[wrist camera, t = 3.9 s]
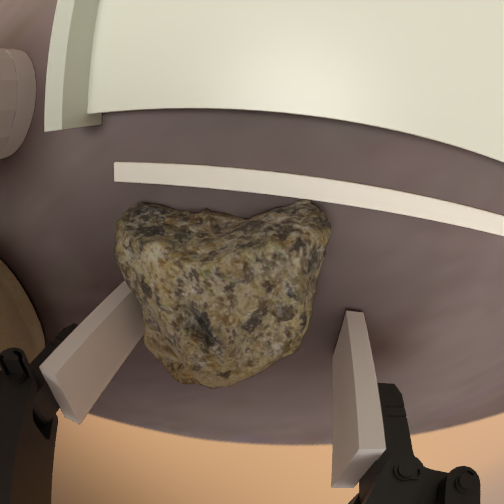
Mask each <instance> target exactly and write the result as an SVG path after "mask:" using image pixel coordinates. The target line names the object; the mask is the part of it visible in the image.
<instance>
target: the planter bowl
mask: <svg viewBox="0 0 504 504" xmlns="http://www.w3.org/2000/svg"><path fill="white" fill-rule="evenodd" d="M13 347H16V348H20V349H22V350H23V351H24V353H25V355H26V357H27V359H28V362H29V364H30V363H31V362H32V361H33V360H34V359H35V358H36V357H37V356H38V354H39V353H40V352H41V351H42V350H43V349H44V348H45V340H44V334H43V331H42V327H41V324H40V321H39V319H38V317H37V314H36V312H35V310H34V308H33V306H32V304H31V302H30V300H29V298H28V296H27V295H26V293H25V291H24V290H23V288H22V286H21V285H20V283H19V282H18V280H17V279H16V277H15V276H14V275H13V273H12V272H11V271H10V270H9V268H8V267H7V266H6V265H5V264H4V263H3V262H2V261H1V260H0V353H1V352H2V351H3V350H5V349H8V348H13ZM0 370H1V368H0Z"/></svg>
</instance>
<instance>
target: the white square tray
mask: <svg viewBox="0 0 504 504" xmlns="http://www.w3.org/2000/svg"><path fill="white" fill-rule="evenodd" d="M154 109H228V110H248V111H263V112H275V113H286V114H295V115H304V116H312V117H320V118H327V119H334V120H340V121H346V122H352V123H358V124H363V125H369V126H374V127H379V128H384V129H388V130H393V131H398V132H402V133H406V134H410V135H415V136H419V137H423V138H426V139H430V140H434V141H438V142H441V143H445V144H448V145H452V146H455V147H458V148H461V149H465V150H468V151H471V152H474V153H477V154H480V155H483V156H486V157H489V158H491V159H494V160H497V161H500V162H502V163H504V0H58V2H57V7H56V12H55V17H54V22H53V28H52V34H51V41H50V48H49V56H48V65H47V76H46V90H45V116H44V132H47V131H54V130H62V129H69V128H77V127H85V126H93V125H102V113H108V112H120V111H134V110H154Z"/></svg>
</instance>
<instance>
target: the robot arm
mask: <svg viewBox="0 0 504 504" xmlns="http://www.w3.org/2000/svg"><path fill="white" fill-rule="evenodd" d="M141 309H142V306H141V305H140V303H139V302H138V300H137V299H136V297H135V295H134V294H133V292H132V290H131V289H130V288H129V287H128V285H127V283H126V281H125V280H124V281H123V282H122V283H121V284H120V285H119V286H118V287H117V288H116V289H115V290H114V291H113V292H112V293H111V294H110V295H109V296H108V297H107V298H106V299H105V300H104V301H103V302H102V303H100V304H99V305H98V306H97V307H96V308H95V309H94V310H93V311H92V312H91V313H90V314H89V315H88V316H87V317H86V318H85V319H84V320H83V321H82V322H81V323H80V324H79V325H77V324H72V325H70V326H68V327H67V328H65V329H63V330H62V331H61V332H60V333H59V334H58V335H57V336H56V338H54V339H53V340H52V341H51V342H50V344H48V345H47V346H46V347H45V348H44V349H43V350H42V351H41V352H40V353H39V354H38V356H37V357H36V358H35V359H34V360H33V361H32V362H31V363H30V364H29V362H28V359H27V357H26V355H25V353H24V351H23V350H22V349H20V348H16V347H13V348H8V349H5V350H3V351H2V352H1V353H0V368H1V370H0V504H51V489H52V472H53V459H54V449H55V440H56V432H57V425H58V417H57V415H56V412H57V411H58V409H59V408H60V409H61V411H62V413H63V414H64V416H65V417H66V418H68V419H70V420H72V421H74V422H76V423H78V424H81V423H82V421H83V420H84V418H85V417H86V415H87V414H88V412H89V411H90V409H91V408H92V406H93V405H94V404H95V402H96V401H97V399H98V398H99V396H100V395H101V393H102V392H103V391H104V389H105V388H106V386H107V385H108V383H109V382H110V381H111V379H112V378H113V376H114V375H115V373H116V372H117V371H118V369H119V368H120V366H121V365H122V364H123V362H124V361H125V359H126V358H127V357H128V355H129V354H130V352H131V351H132V350H133V348H134V347H135V346H136V344H137V343H138V341H139V340H140V339H141V337H142V336H143V335H144V330H145V325H144V320H143V317H142V311H141ZM332 372H333V454H332V457H333V458H332V481H331V487H334V488H335V487H336V488H354V487H355V486H356V485H357V483H358V482H359V493H358V494H357V495H356V496H355V497H354V498H353V499H352V500H351V501H350V502H349V503H348V504H480V480H479V476H478V475H477V473H476V472H475V471H474V470H473V469H471V468H470V467H466V466H460V467H456V468H455V469H453V470H451V471H450V473H446V472H441V471H435V470H431V469H429V468H426V467H424V466H423V464H422V463H421V461H420V460H419V459H418V458H416V457H415V456H414V454H413V450H412V445H411V439H410V433H409V427H408V422H407V418H406V412H405V408H404V402H403V398H402V394H401V393H400V391H399V390H398V388H397V387H396V385H395V384H386V383H377V379H376V373H375V368H374V362H373V357H372V351H371V346H370V341H369V336H368V331H367V326H366V321H365V317H364V313H363V312H355V311H347V310H346V313H345V317H344V320H343V324H342V327H341V331H340V334H339V338H338V341H337V344H336V348H335V351H334V354H333V357H332Z"/></svg>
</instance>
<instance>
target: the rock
mask: <svg viewBox="0 0 504 504" xmlns="http://www.w3.org/2000/svg"><path fill="white" fill-rule="evenodd" d="M311 201H312V200H308V199H305V200H298V201H296V202H294V203H292V204H290V205H288V206H283V207H278V208H274V209H272V210H270V211H268V212H266V213H262V214H259V215H256V216H254V217H252V218H250V219H243V218H240V217H236V216H231V215H229V214H226V213H216V212H210V211H209V210H208V209H207V208H205V209H204V210H202V211H201V212H200V213H197V214H196V213H190V212H189V211H180V210H175V209H172V208H168V207H163V206H160V205H157V204H147V203H137V204H135V205H134V206H131V207H130V208H129V209H128V210H126V211H125V212H124V214H123V216H122V219H120V220H118V221H117V230H116V234H115V238H116V243H115V247H114V257H115V260H116V263H117V264H118V266H119V268H120V270H121V273H122V275H123V277H124V280H125V281H126V283H127V285H128V287H129V288H130V289H131V290H132V292H133V294H134V295H135V297H136V299H137V300H138V302H139V303H140V305H141V306H142V309H141V311H142V317H143V320H144V325H145V330H144V345H145V346H146V347H147V348H148V350H149V351H150V352H151V353H152V354H153V355H154V356H155V357H156V359H157V360H158V361H159V362H161V363H163V364H164V366H165V367H166V369H167V370H168V372H169V373H170V374H172V376H173V378H174V379H176V380H177V381H179V382H181V383H183V384H192V383H198V384H200V385H203V386H206V387H209V388H211V389H216V388H217V387H224V386H232V385H234V384H236V383H238V382H239V381H241V380H243V379H246V378H249V377H252V376H253V375H255V374H256V373H260V372H262V371H264V370H265V369H266V368H267V367H269V366H271V365H273V364H274V363H275V362H276V361H277V360H278V359H280V358H282V357H285V356H289V355H291V354H293V353H294V352H296V351H297V350H298V349H299V347H300V340H301V338H302V337H303V335H304V334H305V332H306V331H307V329H308V325H309V321H310V318H311V316H312V308H313V300H314V297H315V295H316V280H317V277H318V275H319V273H320V268H321V265H322V263H323V260H324V257H325V254H326V251H325V247H326V245H327V243H328V241H329V238H330V233H331V225H330V223H329V222H327V220H328V218H327V216H326V214H325V212H322V213H320V210H319V208H318V207H317V206H316V205H314V204H311Z"/></svg>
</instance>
